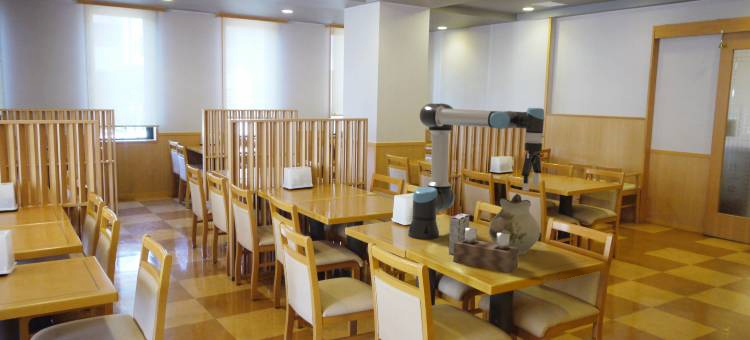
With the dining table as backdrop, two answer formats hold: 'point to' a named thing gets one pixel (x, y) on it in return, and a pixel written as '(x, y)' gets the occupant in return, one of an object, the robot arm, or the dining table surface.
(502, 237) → the peg
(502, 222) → the pitcher
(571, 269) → the dining table surface
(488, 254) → the walnut bar
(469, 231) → the peg
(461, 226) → the candy bar box
